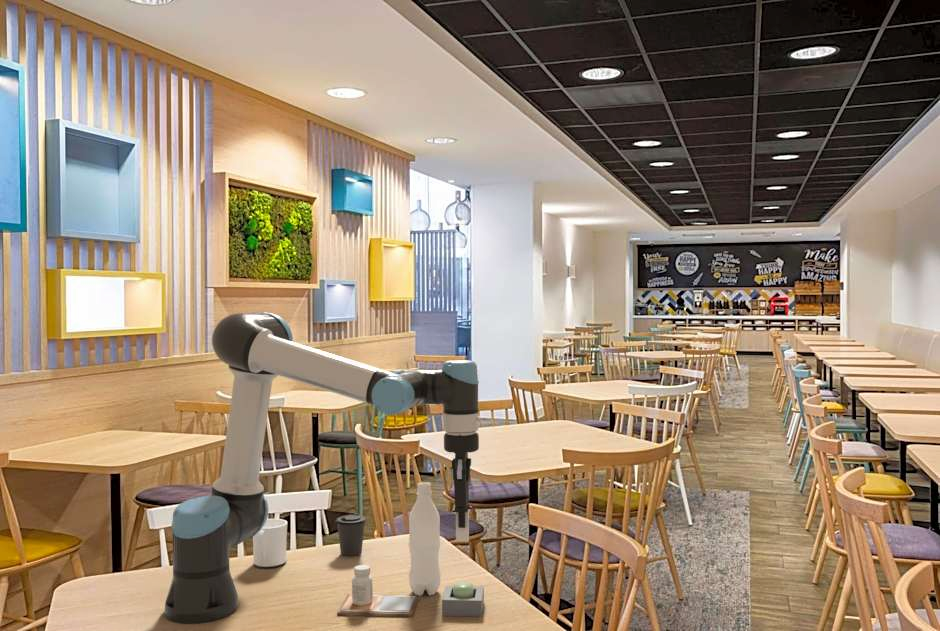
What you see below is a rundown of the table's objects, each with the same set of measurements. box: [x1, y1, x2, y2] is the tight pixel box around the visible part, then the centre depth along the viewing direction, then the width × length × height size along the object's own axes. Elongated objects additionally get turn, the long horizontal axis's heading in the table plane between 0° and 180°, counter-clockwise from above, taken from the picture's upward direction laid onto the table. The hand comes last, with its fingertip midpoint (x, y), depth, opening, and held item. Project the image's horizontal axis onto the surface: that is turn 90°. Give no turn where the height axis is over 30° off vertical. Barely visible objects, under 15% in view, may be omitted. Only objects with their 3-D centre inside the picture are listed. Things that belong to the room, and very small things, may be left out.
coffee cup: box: [334, 514, 367, 558], centre depth 216 cm, size 8×8×10 cm
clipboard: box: [336, 594, 419, 618], centre depth 179 cm, size 16×10×1 cm, turn 86°
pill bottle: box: [351, 564, 374, 606], centre depth 179 cm, size 4×4×8 cm
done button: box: [452, 581, 474, 598], centre depth 177 cm, size 4×4×3 cm
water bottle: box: [408, 481, 441, 597], centre depth 187 cm, size 7×7×25 cm
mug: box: [252, 518, 288, 570], centre depth 207 cm, size 11×9×10 cm
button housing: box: [441, 585, 485, 618], centre depth 178 cm, size 8×8×3 cm
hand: (462, 540), depth 177 cm, fingers closed
